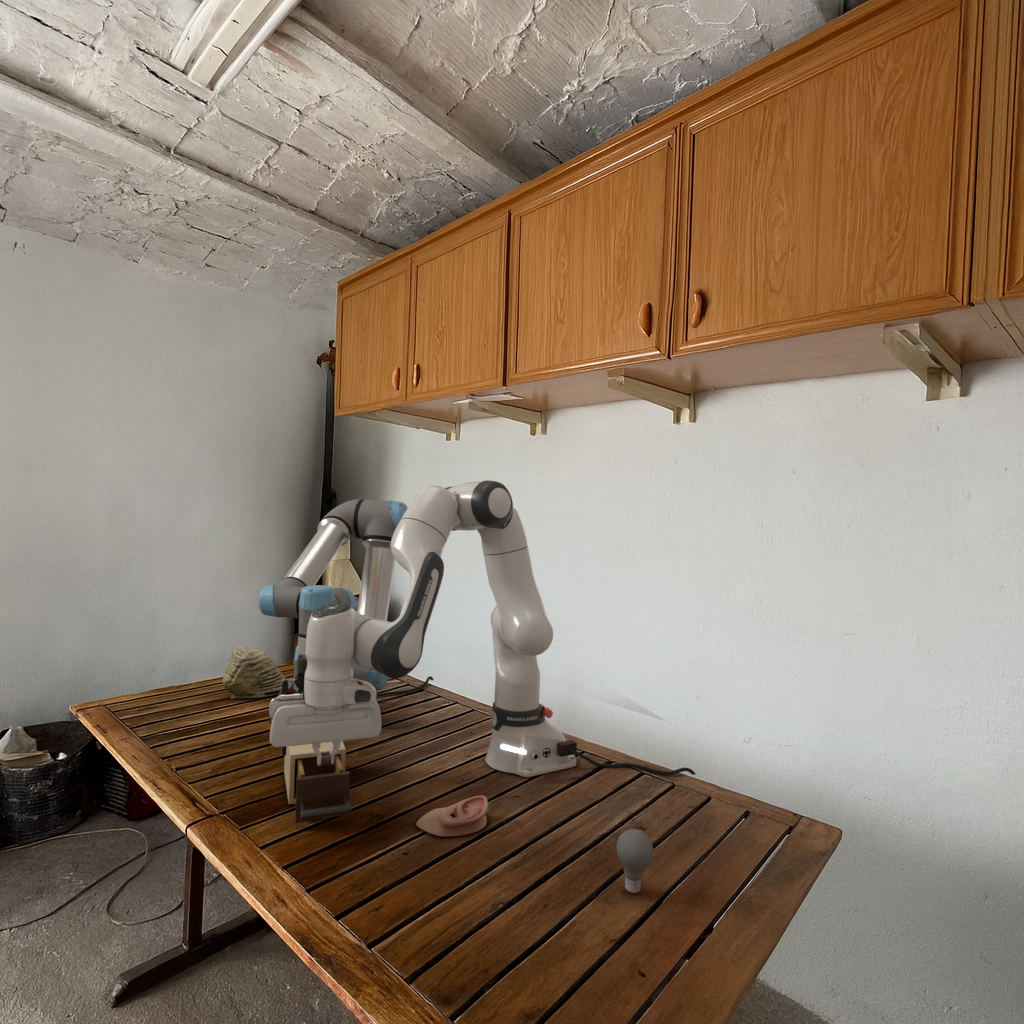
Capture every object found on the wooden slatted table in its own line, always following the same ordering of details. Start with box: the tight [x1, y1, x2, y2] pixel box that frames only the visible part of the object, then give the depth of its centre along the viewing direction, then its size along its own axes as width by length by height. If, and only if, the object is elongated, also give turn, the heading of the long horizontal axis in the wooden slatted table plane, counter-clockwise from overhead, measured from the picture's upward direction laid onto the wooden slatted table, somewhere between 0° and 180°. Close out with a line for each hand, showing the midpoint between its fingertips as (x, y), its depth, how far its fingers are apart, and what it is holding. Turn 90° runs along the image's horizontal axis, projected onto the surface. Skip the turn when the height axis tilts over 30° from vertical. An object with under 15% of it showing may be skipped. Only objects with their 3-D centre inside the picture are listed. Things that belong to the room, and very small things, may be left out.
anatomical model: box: [415, 795, 489, 838], centre depth 125 cm, size 13×4×12 cm
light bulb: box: [615, 828, 654, 894], centre depth 106 cm, size 6×6×10 cm
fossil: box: [222, 646, 286, 699], centre depth 198 cm, size 9×18×15 cm, turn 132°
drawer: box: [294, 754, 352, 824], centre depth 127 cm, size 21×10×8 cm, turn 23°
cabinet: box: [283, 740, 347, 805], centre depth 139 cm, size 17×11×10 cm, turn 23°
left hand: (311, 750), depth 144 cm, fingers closed on cabinet, 11 cm apart
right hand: (325, 763), depth 120 cm, fingers closed
